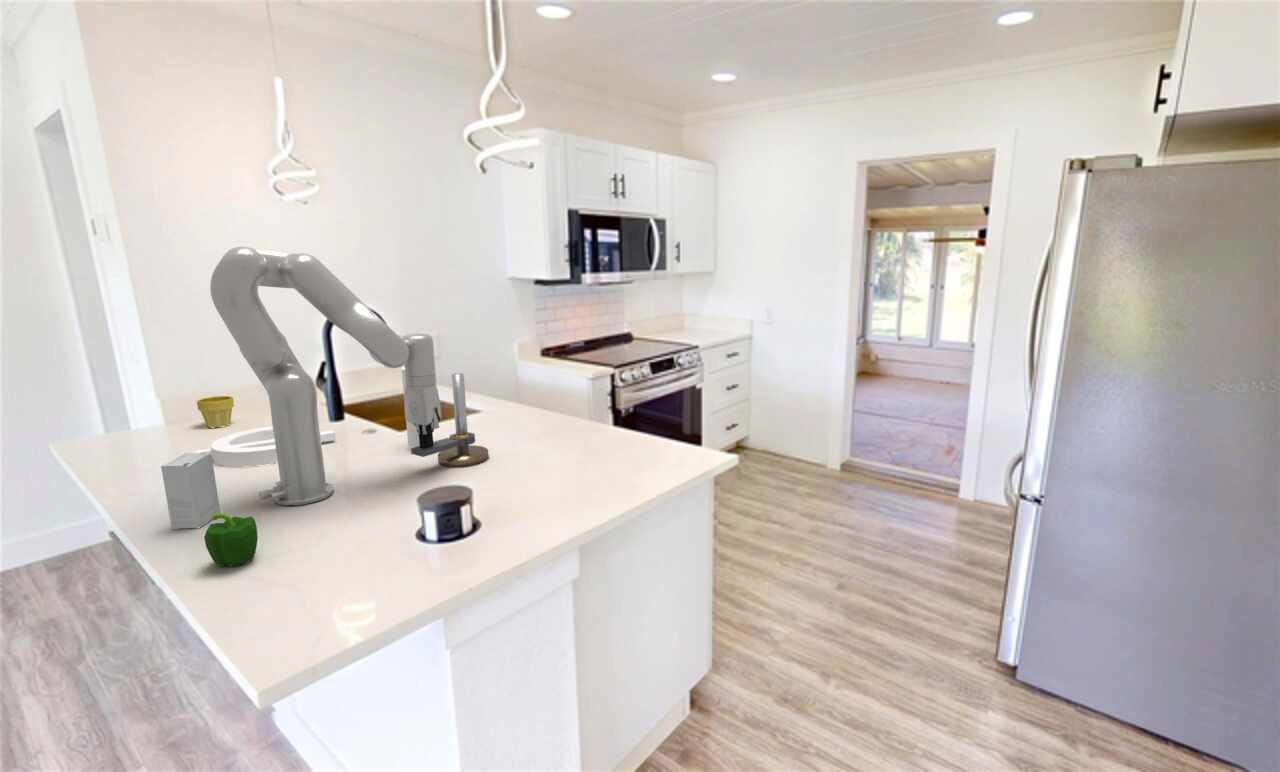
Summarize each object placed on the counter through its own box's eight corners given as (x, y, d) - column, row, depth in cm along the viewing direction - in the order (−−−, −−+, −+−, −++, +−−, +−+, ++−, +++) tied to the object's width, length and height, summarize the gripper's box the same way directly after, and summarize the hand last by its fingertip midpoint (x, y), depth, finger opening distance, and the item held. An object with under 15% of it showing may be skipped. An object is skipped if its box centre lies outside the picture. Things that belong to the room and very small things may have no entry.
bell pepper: (271, 551, 119) (265, 504, 117) (243, 572, 111) (235, 522, 109) (230, 550, 119) (223, 503, 117) (199, 571, 111) (190, 521, 109)
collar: (425, 458, 158) (424, 451, 158) (409, 454, 162) (408, 446, 161) (479, 441, 173) (479, 434, 173) (464, 437, 177) (463, 431, 176)
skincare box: (194, 514, 136) (184, 452, 133) (222, 513, 137) (212, 451, 134) (170, 531, 128) (158, 464, 125) (200, 529, 129) (188, 463, 126)
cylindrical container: (437, 444, 187) (430, 365, 182) (426, 451, 180) (420, 370, 175) (415, 443, 188) (408, 365, 183) (404, 450, 181) (396, 369, 176)
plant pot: (235, 420, 217) (231, 394, 215) (238, 426, 209) (234, 399, 207) (200, 425, 211) (195, 398, 209) (202, 431, 203) (197, 403, 201)
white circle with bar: (188, 465, 170) (186, 449, 169) (265, 437, 197) (263, 423, 196) (274, 470, 165) (272, 454, 164) (341, 441, 192) (339, 427, 191)
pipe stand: (459, 470, 164) (453, 381, 158) (427, 461, 171) (420, 375, 166) (498, 457, 175) (493, 373, 170) (467, 448, 183) (461, 368, 178)
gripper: (391, 380, 159) (397, 446, 163) (426, 386, 151) (432, 455, 155) (416, 375, 165) (421, 439, 169) (451, 381, 157) (456, 448, 161)
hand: (426, 446), depth 162 cm, fingers closed
